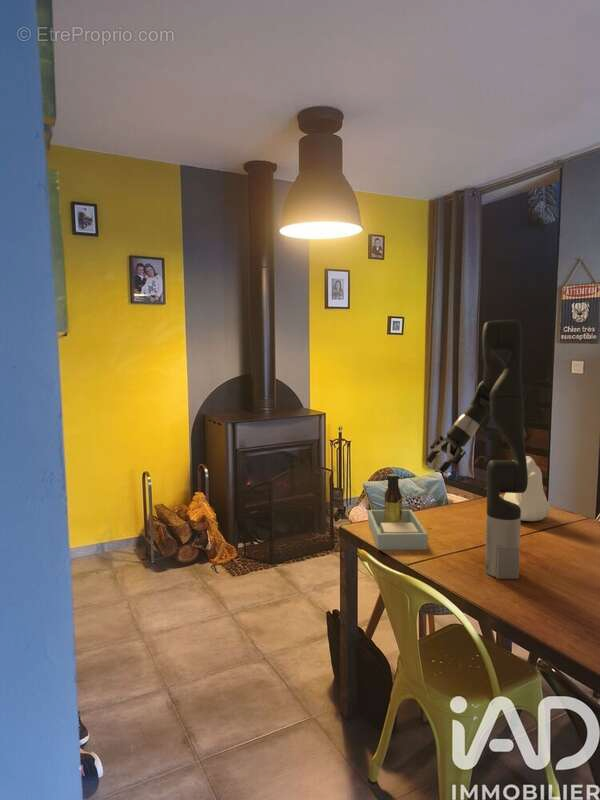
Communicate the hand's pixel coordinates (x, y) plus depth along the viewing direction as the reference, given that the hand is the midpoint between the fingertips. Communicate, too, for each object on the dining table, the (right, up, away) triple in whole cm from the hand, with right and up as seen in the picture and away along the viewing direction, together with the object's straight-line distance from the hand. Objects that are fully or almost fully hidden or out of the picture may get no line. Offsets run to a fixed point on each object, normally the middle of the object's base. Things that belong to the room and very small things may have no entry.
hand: (434, 466), depth 188 cm
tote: (-14, -24, -3) cm, 28 cm away
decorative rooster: (+40, -22, +20) cm, 50 cm away
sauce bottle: (-14, -23, +3) cm, 27 cm away
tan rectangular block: (-14, -24, -9) cm, 29 cm away
